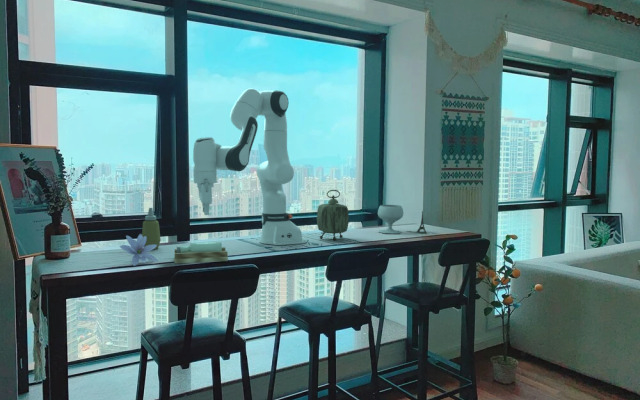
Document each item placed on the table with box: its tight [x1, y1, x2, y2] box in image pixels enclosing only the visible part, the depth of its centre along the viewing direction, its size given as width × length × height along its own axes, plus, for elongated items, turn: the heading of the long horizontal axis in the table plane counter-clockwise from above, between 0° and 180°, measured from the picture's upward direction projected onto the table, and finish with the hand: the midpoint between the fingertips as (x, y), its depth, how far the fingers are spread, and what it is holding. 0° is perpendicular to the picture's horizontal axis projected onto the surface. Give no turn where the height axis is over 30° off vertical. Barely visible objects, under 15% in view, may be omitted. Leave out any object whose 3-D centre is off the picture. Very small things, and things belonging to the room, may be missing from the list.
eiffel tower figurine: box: [406, 210, 436, 235], centre depth 271 cm, size 15×10×13 cm
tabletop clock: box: [316, 189, 350, 241], centre depth 242 cm, size 14×9×25 cm, turn 108°
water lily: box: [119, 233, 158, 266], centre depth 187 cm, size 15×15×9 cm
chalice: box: [377, 204, 404, 235], centre depth 268 cm, size 14×14×15 cm
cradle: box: [174, 246, 229, 264], centre depth 193 cm, size 20×12×4 cm, turn 106°
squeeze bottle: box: [141, 207, 162, 250], centre depth 214 cm, size 8×8×18 cm
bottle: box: [176, 241, 223, 253], centre depth 193 cm, size 17×5×5 cm, turn 106°
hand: (205, 213), depth 192 cm, fingers open, 8 cm apart
